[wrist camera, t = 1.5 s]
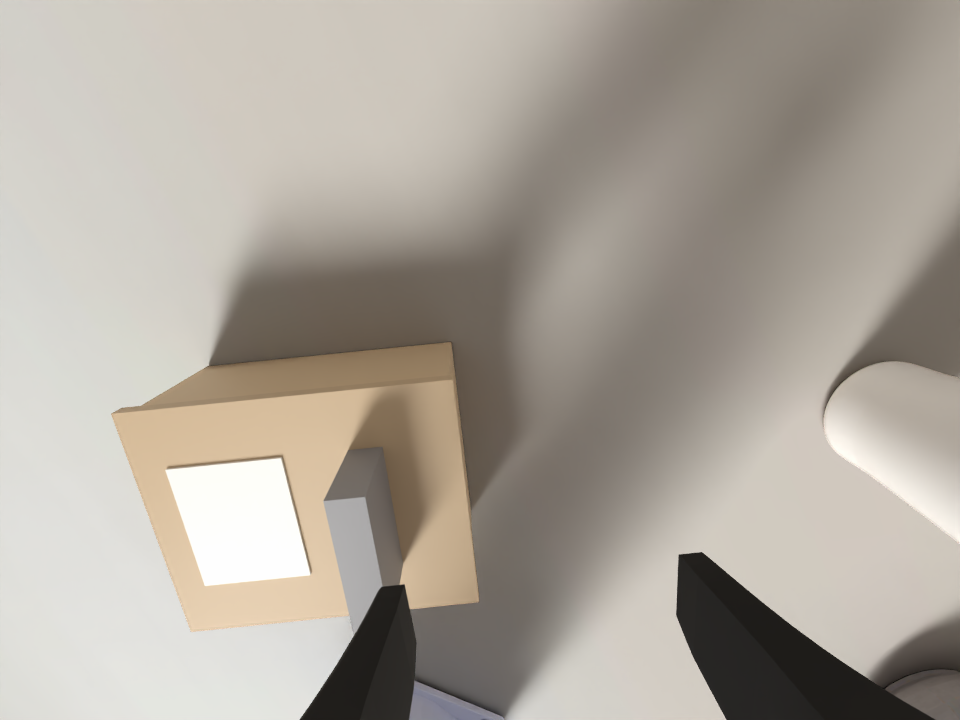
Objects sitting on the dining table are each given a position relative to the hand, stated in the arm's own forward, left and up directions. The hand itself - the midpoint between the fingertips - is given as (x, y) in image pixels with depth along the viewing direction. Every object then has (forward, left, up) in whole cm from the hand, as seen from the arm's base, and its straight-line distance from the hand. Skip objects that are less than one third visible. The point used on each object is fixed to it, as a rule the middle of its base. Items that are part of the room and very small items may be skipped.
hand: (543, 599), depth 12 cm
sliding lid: (+6, +5, -5) cm, 9 cm away
